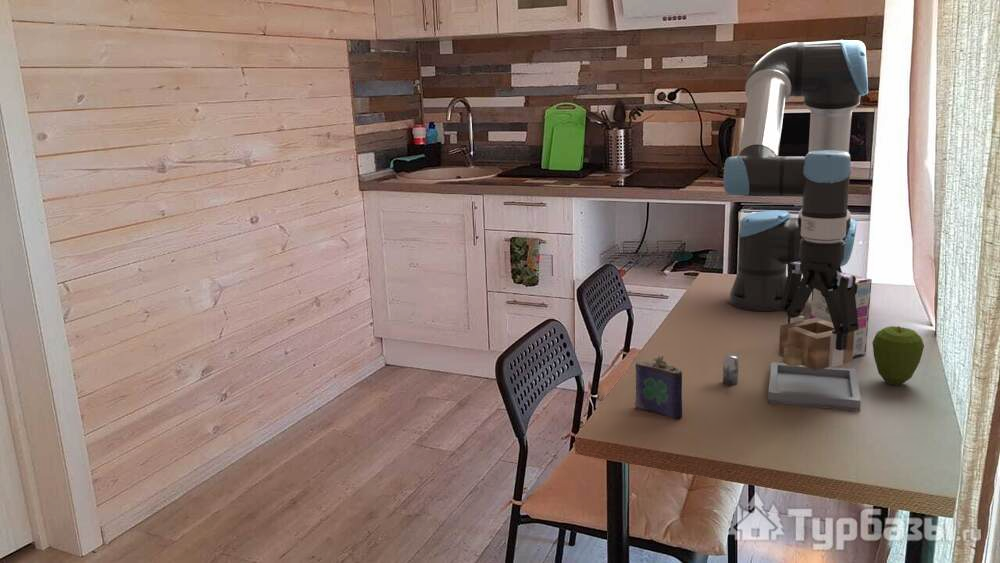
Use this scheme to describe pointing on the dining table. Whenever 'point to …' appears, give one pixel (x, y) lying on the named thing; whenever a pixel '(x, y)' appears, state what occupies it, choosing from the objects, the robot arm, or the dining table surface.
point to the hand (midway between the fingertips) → (814, 357)
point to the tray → (814, 387)
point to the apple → (897, 353)
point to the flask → (659, 389)
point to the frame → (810, 344)
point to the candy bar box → (862, 305)
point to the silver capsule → (730, 369)
